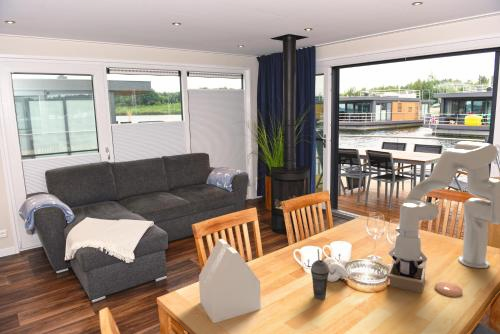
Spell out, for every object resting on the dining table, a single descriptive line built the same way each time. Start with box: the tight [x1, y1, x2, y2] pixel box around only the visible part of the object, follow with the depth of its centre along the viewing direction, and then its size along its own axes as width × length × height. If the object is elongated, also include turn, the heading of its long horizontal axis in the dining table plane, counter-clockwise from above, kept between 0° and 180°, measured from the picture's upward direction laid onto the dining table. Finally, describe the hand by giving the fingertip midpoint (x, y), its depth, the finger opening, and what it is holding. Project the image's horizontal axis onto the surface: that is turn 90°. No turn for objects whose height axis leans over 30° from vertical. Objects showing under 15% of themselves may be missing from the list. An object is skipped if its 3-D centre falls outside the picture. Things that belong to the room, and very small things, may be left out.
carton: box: [385, 258, 427, 293], centre depth 154 cm, size 23×14×7 cm, turn 150°
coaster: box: [434, 281, 463, 298], centre depth 147 cm, size 10×10×1 cm
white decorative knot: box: [323, 257, 350, 282], centre depth 158 cm, size 11×12×9 cm
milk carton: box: [198, 238, 262, 324], centre depth 138 cm, size 19×15×25 cm
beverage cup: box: [310, 248, 329, 301], centre depth 143 cm, size 7×7×20 cm
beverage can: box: [398, 258, 415, 279], centre depth 154 cm, size 6×6×12 cm
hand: (406, 271), depth 154 cm, fingers closed on beverage can, 5 cm apart
